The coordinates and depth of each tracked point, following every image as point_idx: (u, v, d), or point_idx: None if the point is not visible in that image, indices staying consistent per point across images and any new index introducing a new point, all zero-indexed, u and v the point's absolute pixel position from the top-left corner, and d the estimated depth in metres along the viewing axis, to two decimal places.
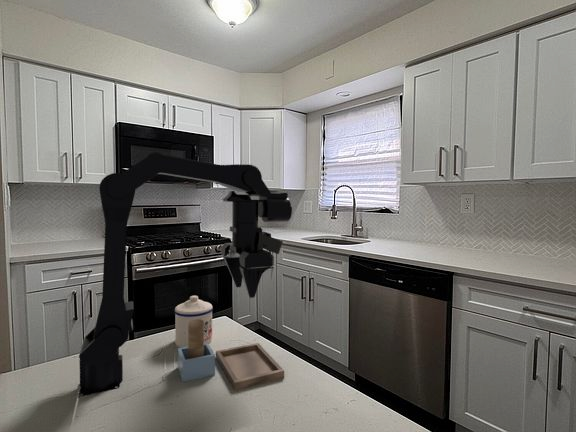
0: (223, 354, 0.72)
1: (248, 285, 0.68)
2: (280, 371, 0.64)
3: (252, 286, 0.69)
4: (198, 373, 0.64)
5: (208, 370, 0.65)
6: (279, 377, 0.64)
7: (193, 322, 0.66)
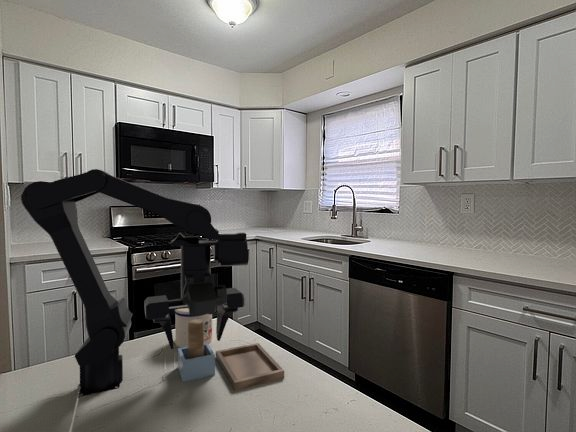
0: (223, 354, 0.72)
1: None
2: (280, 371, 0.64)
3: None
4: (198, 373, 0.64)
5: (208, 370, 0.65)
6: (279, 377, 0.64)
7: (193, 322, 0.66)
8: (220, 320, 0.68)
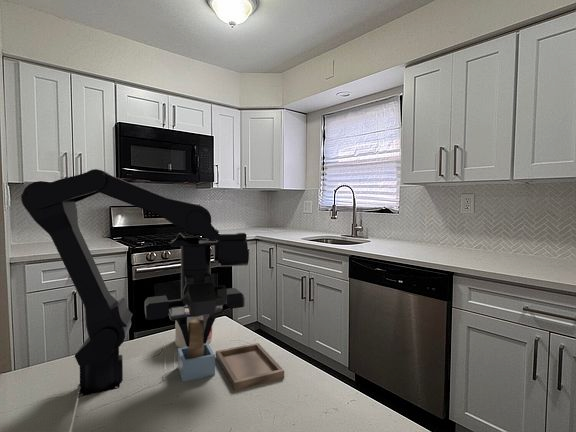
0: (223, 354, 0.72)
1: (181, 330, 0.66)
2: (280, 371, 0.64)
3: (182, 333, 0.65)
4: (198, 373, 0.64)
5: (208, 370, 0.65)
6: (279, 377, 0.64)
7: (193, 322, 0.66)
8: (206, 322, 0.66)
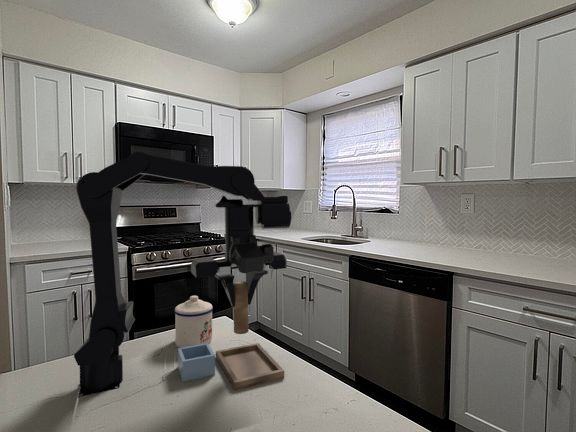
0: (223, 354, 0.72)
1: (226, 291, 0.67)
2: (280, 371, 0.64)
3: (227, 294, 0.67)
4: (198, 373, 0.64)
5: (208, 370, 0.65)
6: (279, 377, 0.64)
7: (238, 283, 0.67)
8: (250, 283, 0.68)
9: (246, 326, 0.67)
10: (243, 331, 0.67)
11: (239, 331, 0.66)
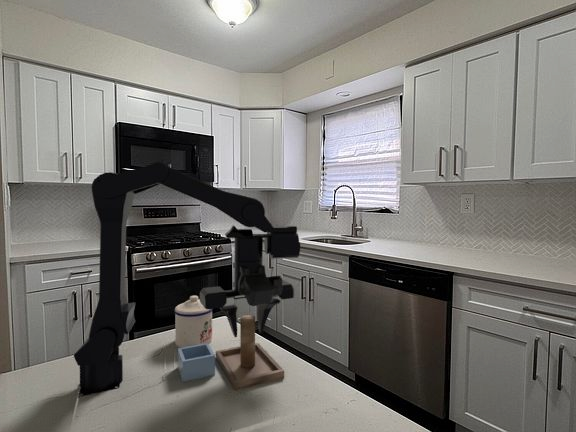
0: (223, 354, 0.72)
1: None
2: (280, 371, 0.64)
3: (230, 324, 0.67)
4: (198, 373, 0.64)
5: (208, 370, 0.65)
6: (279, 377, 0.64)
7: (245, 317, 0.68)
8: (262, 312, 0.68)
9: (253, 360, 0.67)
10: (250, 365, 0.67)
11: (246, 365, 0.67)
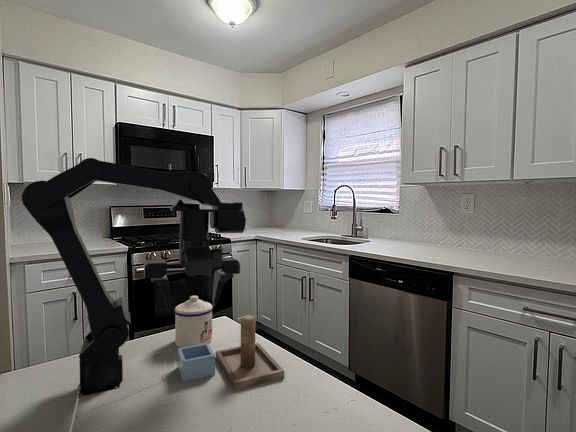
0: (223, 354, 0.72)
1: None
2: (280, 371, 0.64)
3: None
4: (198, 373, 0.64)
5: (208, 370, 0.65)
6: (279, 377, 0.64)
7: (245, 318, 0.68)
8: (216, 286, 0.70)
9: (253, 361, 0.67)
10: (250, 366, 0.67)
11: (246, 366, 0.67)
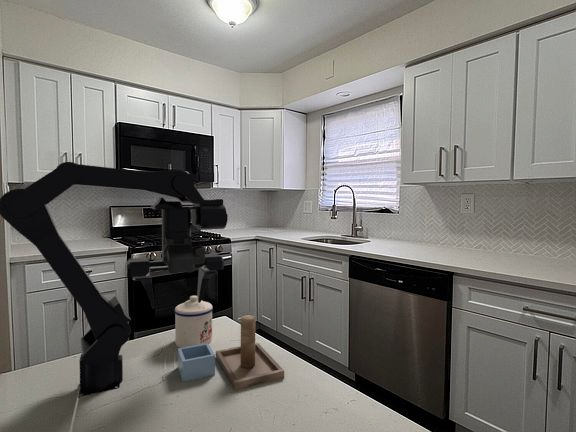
0: (223, 354, 0.72)
1: None
2: (280, 371, 0.64)
3: None
4: (198, 373, 0.64)
5: (208, 370, 0.65)
6: (279, 377, 0.64)
7: (245, 318, 0.68)
8: (200, 282, 0.70)
9: (253, 361, 0.67)
10: (250, 366, 0.67)
11: (246, 366, 0.67)
